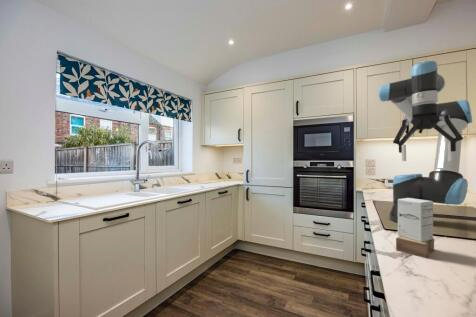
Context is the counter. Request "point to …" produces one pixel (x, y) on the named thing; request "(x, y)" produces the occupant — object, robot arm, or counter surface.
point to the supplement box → (415, 219)
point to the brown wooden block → (415, 246)
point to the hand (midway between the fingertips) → (425, 161)
